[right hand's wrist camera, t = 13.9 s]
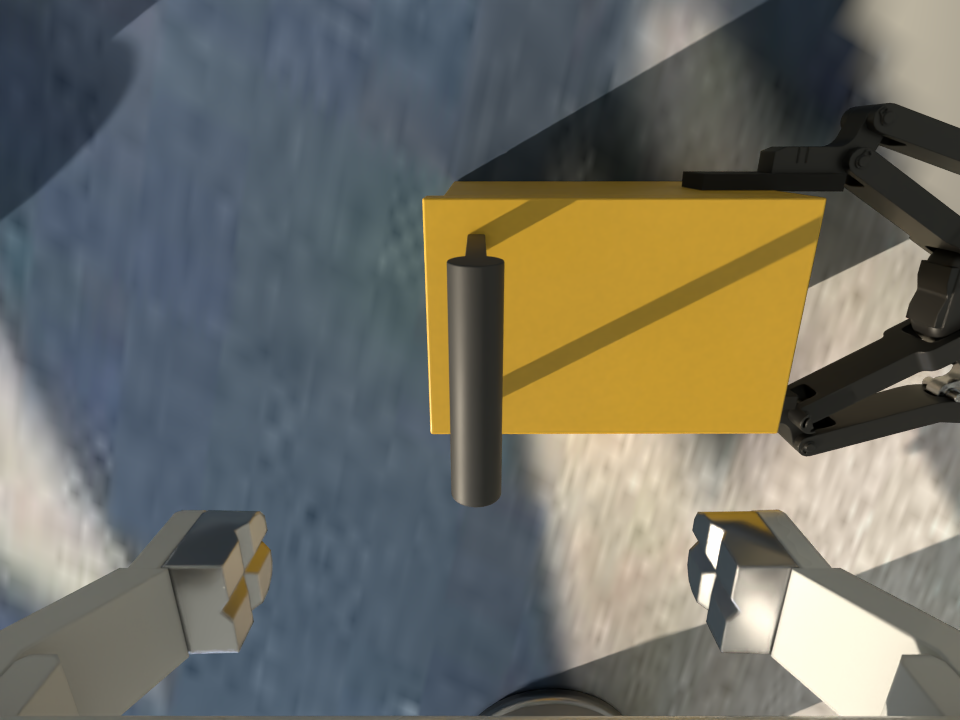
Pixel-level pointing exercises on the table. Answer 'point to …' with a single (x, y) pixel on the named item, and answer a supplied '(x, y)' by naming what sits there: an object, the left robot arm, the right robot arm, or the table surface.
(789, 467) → the table surface
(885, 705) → the right robot arm
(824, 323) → the table surface
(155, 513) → the table surface
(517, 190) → the chest
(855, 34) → the table surface
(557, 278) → the lid
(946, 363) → the left robot arm
